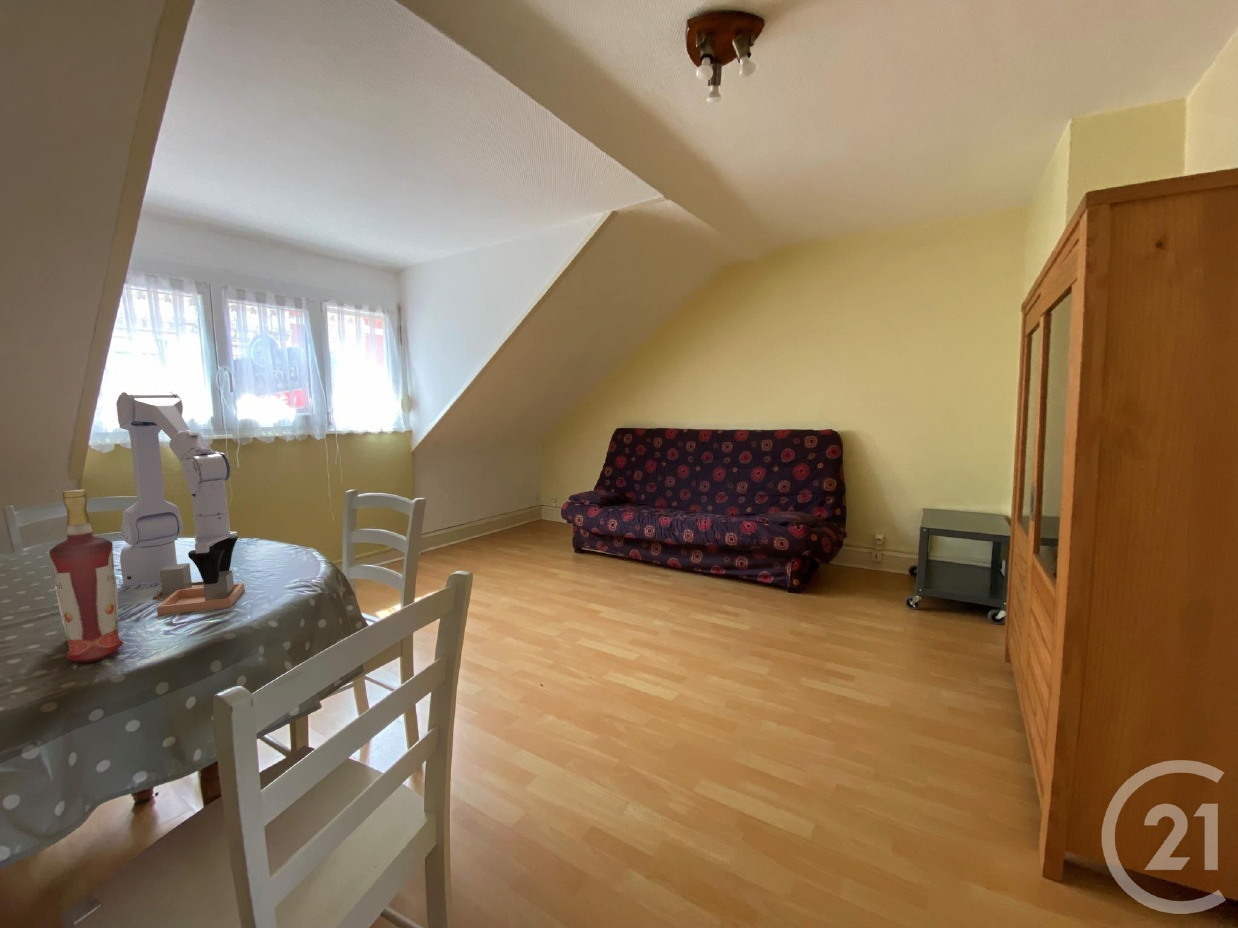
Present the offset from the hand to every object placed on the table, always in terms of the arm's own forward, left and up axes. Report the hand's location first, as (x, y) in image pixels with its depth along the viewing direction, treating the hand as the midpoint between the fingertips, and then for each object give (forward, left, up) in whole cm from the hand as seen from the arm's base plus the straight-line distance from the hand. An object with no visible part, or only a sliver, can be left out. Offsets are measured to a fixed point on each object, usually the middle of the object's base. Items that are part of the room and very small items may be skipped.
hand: (217, 577), depth 113 cm
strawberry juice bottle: (-17, -10, -6) cm, 20 cm away
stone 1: (-10, +9, -5) cm, 15 cm away
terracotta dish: (-3, 0, -6) cm, 6 cm away
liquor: (-12, -21, -6) cm, 24 cm away
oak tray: (-7, +9, -6) cm, 13 cm away
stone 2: (0, 0, -5) cm, 5 cm away
